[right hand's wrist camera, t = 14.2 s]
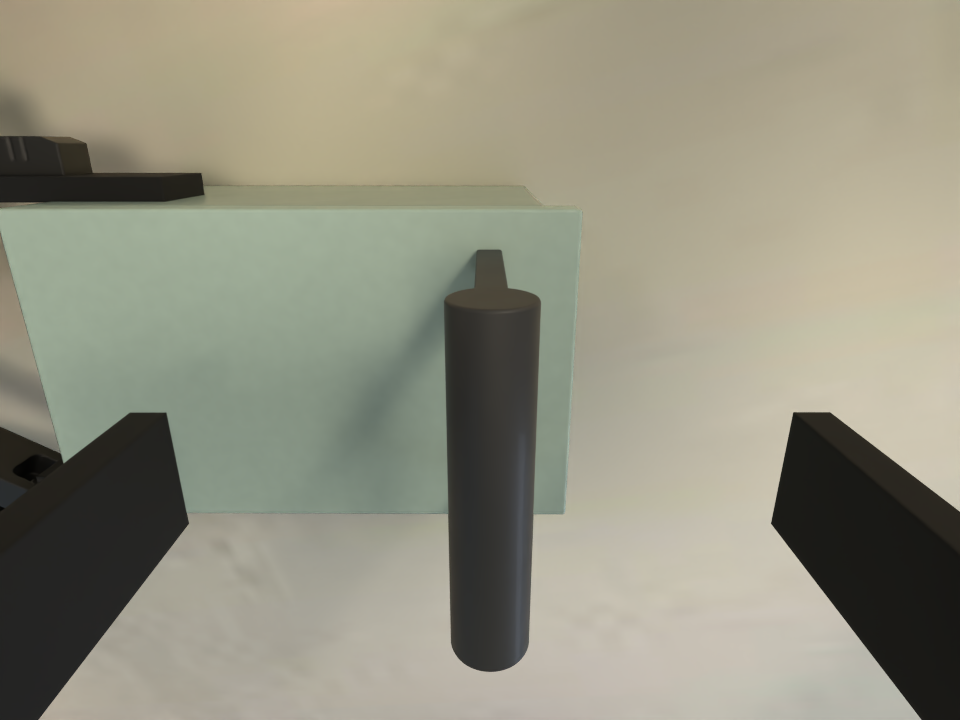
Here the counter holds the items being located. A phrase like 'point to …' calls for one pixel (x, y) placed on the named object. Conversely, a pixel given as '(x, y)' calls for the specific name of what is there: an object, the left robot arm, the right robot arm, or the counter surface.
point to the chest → (342, 196)
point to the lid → (327, 365)
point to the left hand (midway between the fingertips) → (209, 339)
